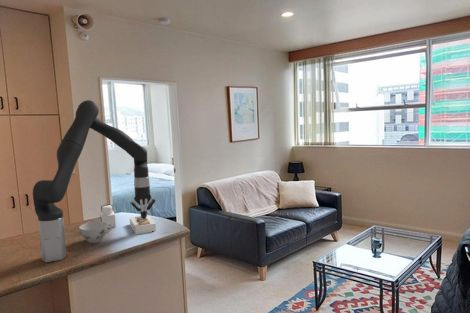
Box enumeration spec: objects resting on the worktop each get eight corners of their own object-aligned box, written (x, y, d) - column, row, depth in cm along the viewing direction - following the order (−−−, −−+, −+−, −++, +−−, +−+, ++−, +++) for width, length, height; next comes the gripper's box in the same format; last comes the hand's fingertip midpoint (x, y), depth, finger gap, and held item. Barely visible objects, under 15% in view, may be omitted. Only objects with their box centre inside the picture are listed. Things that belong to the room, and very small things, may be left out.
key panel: (155, 231, 172) (155, 223, 171) (136, 234, 167) (135, 226, 167) (148, 221, 189) (147, 214, 188) (129, 224, 184) (129, 217, 184)
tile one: (149, 226, 171) (149, 221, 171) (141, 227, 169) (140, 222, 169) (147, 223, 175) (147, 219, 175) (139, 225, 173) (139, 220, 173)
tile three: (145, 222, 182) (144, 217, 182) (136, 223, 180) (136, 219, 180) (143, 220, 186) (143, 215, 186) (135, 221, 184) (135, 217, 184)
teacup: (86, 248, 151) (84, 231, 150) (76, 241, 160) (75, 225, 159) (118, 239, 161) (117, 223, 160) (107, 233, 170) (106, 218, 169)
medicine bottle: (101, 225, 183) (99, 204, 182) (114, 223, 186) (113, 202, 185) (101, 229, 177) (100, 207, 175) (115, 227, 180) (114, 205, 178)
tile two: (147, 223, 177) (146, 218, 176) (138, 224, 175) (138, 219, 174) (145, 221, 181) (145, 216, 180) (137, 222, 179) (136, 217, 178)
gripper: (129, 188, 164) (132, 222, 166) (156, 185, 170) (158, 218, 172) (127, 185, 170) (129, 218, 172) (153, 182, 176) (154, 214, 178)
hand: (144, 218), depth 172 cm, fingers closed
